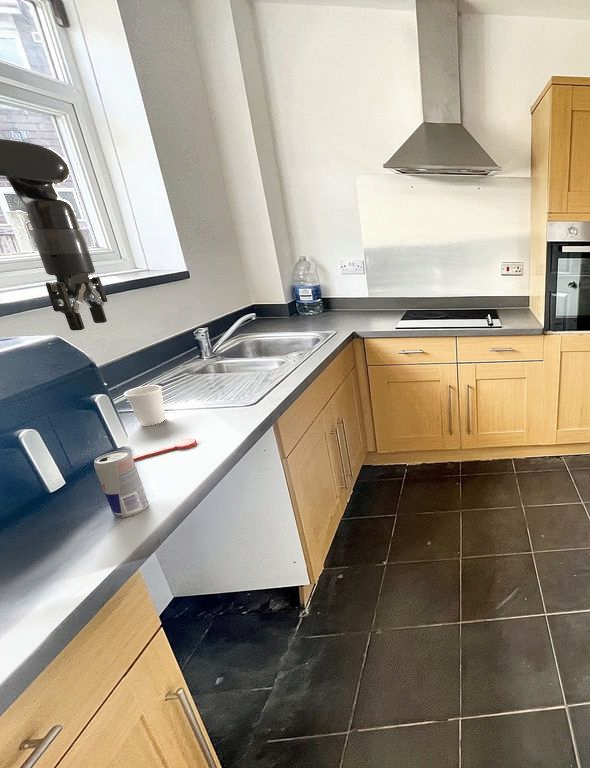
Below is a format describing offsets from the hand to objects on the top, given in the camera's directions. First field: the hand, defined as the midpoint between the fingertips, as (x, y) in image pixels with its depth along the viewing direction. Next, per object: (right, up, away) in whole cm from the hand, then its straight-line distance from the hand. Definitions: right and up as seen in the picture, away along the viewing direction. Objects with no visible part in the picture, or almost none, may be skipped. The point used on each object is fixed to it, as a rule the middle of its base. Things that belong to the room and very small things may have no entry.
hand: (89, 326), depth 94 cm
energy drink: (+20, -38, -12) cm, 45 cm away
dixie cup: (-9, -24, +27) cm, 38 cm away
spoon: (+7, -31, +10) cm, 33 cm away
